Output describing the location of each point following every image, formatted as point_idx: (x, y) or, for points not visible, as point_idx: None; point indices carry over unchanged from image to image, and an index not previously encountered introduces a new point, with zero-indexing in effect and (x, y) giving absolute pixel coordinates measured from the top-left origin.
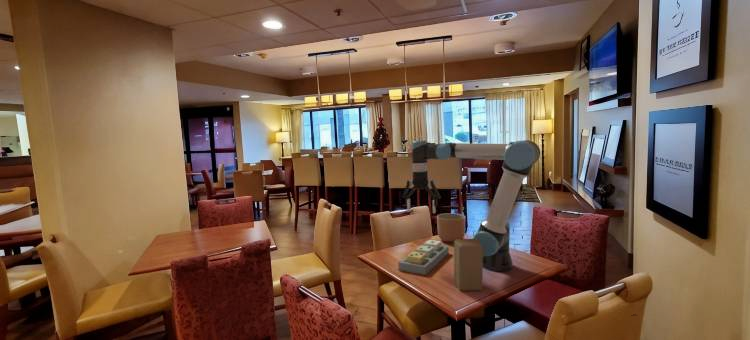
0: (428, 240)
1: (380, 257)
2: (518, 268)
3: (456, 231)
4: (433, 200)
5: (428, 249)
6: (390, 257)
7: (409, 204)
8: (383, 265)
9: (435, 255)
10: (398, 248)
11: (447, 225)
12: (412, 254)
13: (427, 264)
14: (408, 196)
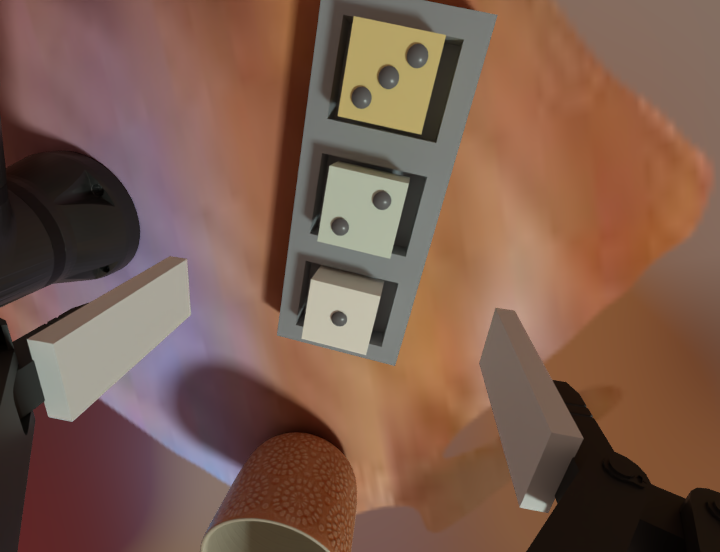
0: (365, 342)
1: (617, 199)
2: None
3: (256, 465)
4: (38, 348)
5: (336, 194)
6: (557, 212)
7: (506, 402)
8: (588, 76)
9: (307, 192)
10: None
11: (286, 490)
12: (413, 65)
13: (319, 31)
14: (569, 498)
